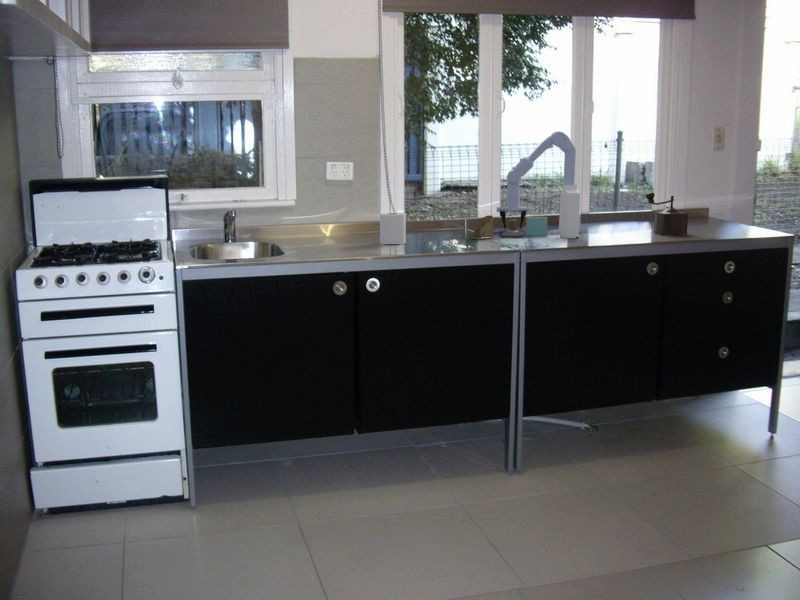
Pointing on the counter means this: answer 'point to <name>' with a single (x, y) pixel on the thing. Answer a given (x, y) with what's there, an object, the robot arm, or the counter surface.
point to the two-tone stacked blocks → (512, 226)
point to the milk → (569, 212)
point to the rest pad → (513, 234)
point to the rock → (484, 228)
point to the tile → (536, 226)
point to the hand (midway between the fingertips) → (512, 228)
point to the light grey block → (392, 228)
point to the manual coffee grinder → (668, 218)
